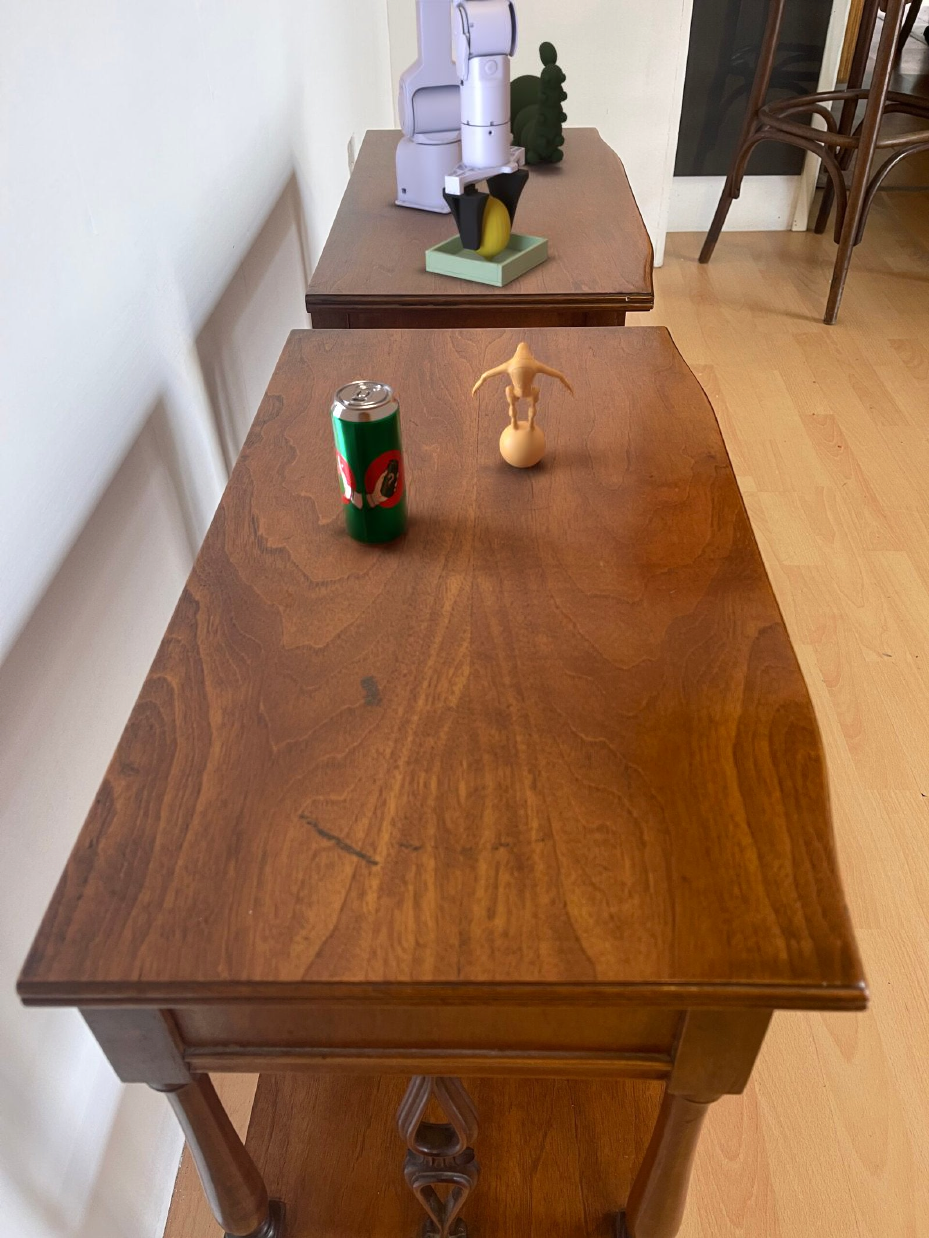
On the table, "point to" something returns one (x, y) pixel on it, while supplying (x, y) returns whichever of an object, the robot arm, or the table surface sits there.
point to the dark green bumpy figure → (539, 110)
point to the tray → (471, 266)
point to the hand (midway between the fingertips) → (487, 240)
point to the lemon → (494, 229)
